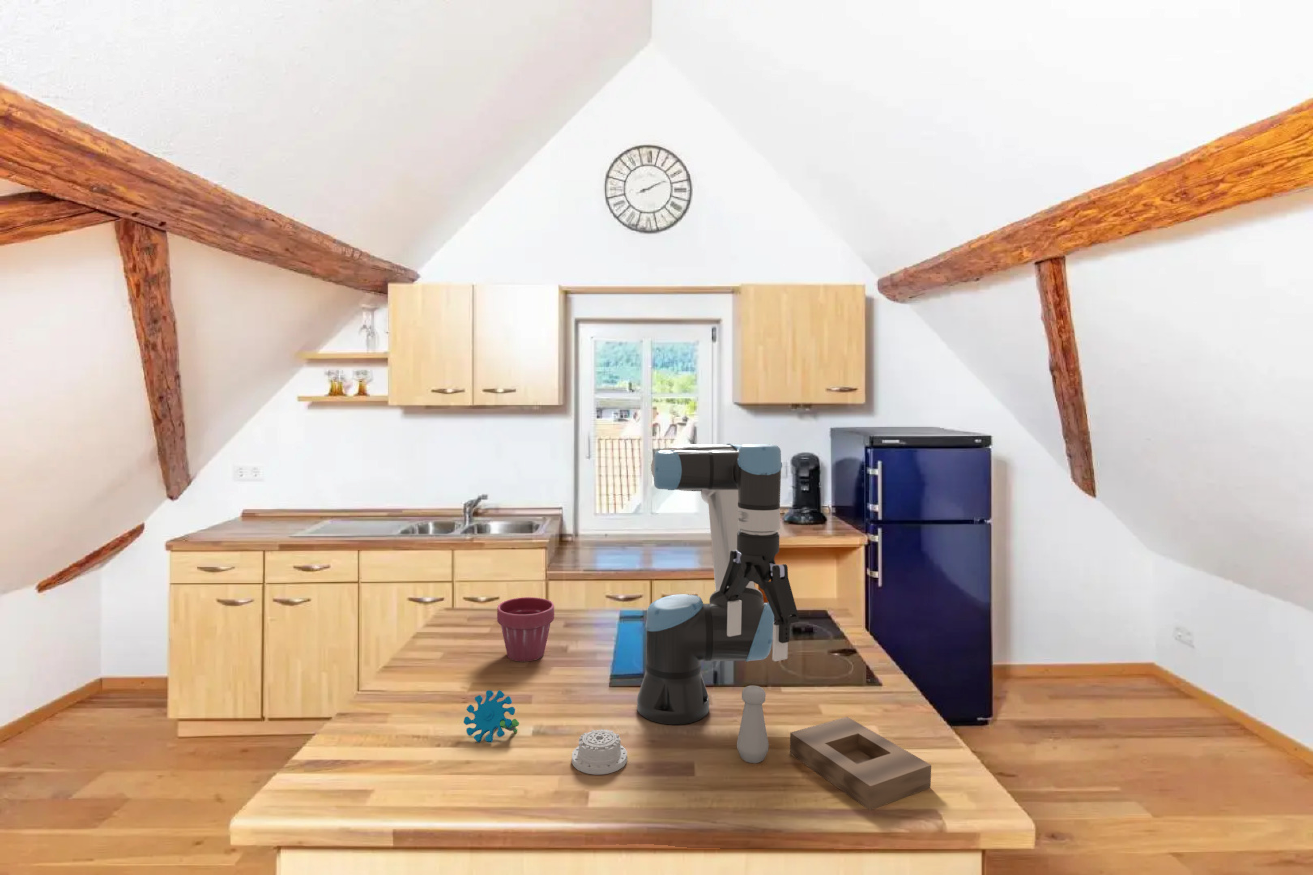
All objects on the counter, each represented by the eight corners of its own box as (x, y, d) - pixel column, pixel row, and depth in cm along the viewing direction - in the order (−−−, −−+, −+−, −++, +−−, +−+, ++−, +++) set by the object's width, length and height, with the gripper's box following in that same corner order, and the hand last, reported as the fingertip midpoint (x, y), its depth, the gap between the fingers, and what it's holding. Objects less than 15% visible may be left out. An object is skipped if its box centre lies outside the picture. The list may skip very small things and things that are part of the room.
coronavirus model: (452, 730, 135) (479, 681, 141) (464, 741, 140) (489, 693, 145) (501, 750, 131) (526, 698, 137) (511, 760, 136) (535, 710, 141)
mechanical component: (614, 780, 122) (635, 753, 131) (614, 756, 122) (635, 730, 131) (562, 770, 125) (586, 743, 135) (562, 746, 125) (586, 721, 134)
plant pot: (549, 666, 171) (549, 614, 170) (491, 665, 171) (490, 613, 171) (558, 645, 186) (558, 597, 185) (504, 644, 186) (504, 596, 185)
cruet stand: (789, 753, 131) (790, 732, 131) (846, 736, 138) (847, 716, 138) (869, 810, 114) (870, 786, 113) (930, 787, 120) (931, 765, 120)
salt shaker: (767, 767, 126) (769, 696, 125) (735, 764, 127) (736, 693, 127) (768, 751, 132) (770, 683, 131) (738, 748, 133) (739, 680, 132)
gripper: (702, 520, 136) (701, 629, 137) (787, 546, 114) (783, 675, 116) (734, 517, 140) (732, 623, 141) (822, 542, 118) (819, 666, 119)
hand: (755, 646), depth 128 cm, fingers open, 13 cm apart
